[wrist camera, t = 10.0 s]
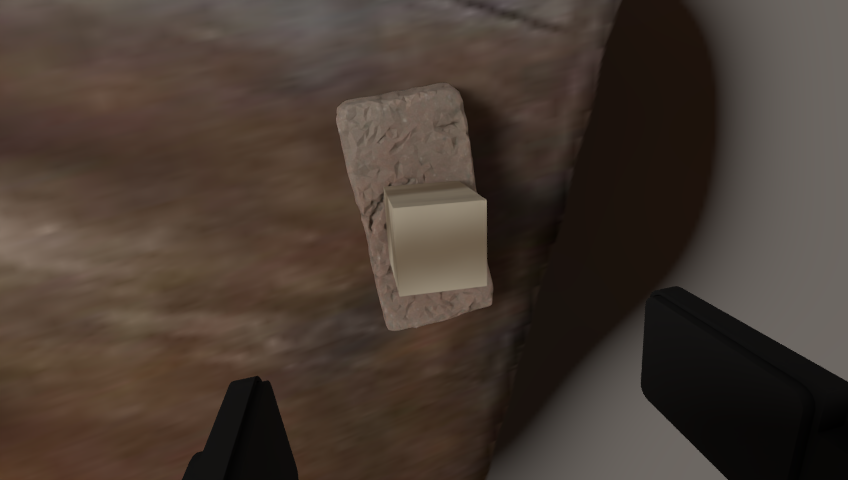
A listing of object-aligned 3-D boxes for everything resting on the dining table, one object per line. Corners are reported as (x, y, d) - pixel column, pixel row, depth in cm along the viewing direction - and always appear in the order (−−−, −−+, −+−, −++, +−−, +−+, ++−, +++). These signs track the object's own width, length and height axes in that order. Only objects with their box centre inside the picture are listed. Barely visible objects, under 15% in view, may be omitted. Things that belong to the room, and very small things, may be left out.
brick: (332, 103, 29) (329, 103, 25) (447, 80, 30) (465, 76, 26) (383, 308, 35) (389, 338, 31) (479, 284, 36) (498, 310, 31)
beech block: (383, 186, 27) (392, 208, 22) (458, 180, 28) (486, 199, 22) (389, 259, 29) (399, 296, 23) (460, 251, 30) (487, 285, 24)
